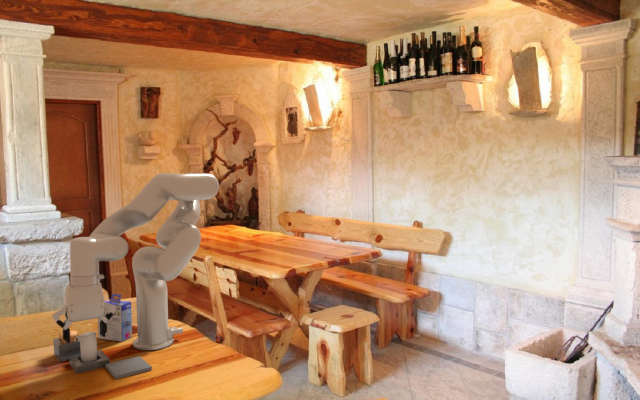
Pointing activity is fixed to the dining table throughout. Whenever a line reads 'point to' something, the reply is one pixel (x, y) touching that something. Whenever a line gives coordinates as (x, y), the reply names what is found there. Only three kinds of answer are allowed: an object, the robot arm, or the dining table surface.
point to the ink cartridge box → (118, 320)
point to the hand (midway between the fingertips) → (85, 338)
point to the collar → (87, 366)
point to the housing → (66, 349)
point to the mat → (128, 367)
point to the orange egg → (72, 336)
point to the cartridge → (88, 347)
